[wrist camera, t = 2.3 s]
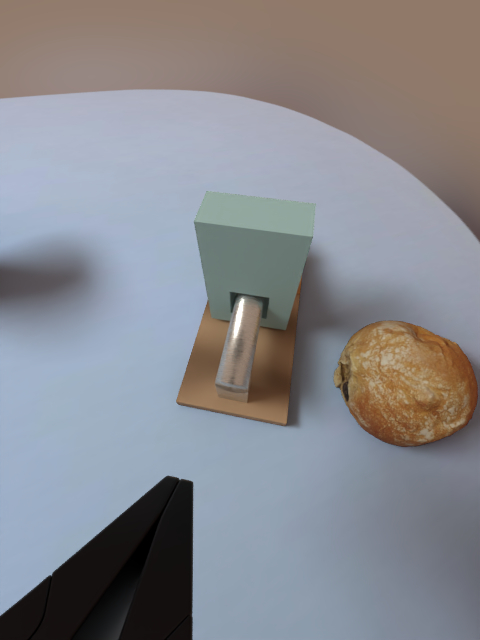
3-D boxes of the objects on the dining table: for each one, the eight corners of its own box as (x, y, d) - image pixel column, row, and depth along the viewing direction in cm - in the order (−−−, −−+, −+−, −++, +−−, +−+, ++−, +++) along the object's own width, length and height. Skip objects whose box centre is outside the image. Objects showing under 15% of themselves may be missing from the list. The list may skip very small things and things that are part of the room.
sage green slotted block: (285, 330, 25) (312, 236, 15) (211, 317, 25) (193, 221, 16) (289, 303, 26) (315, 203, 17) (218, 292, 27) (206, 191, 18)
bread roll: (327, 355, 29) (311, 327, 23) (431, 321, 26) (447, 278, 20) (364, 456, 24) (358, 457, 18) (498, 429, 21) (550, 418, 15)
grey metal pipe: (248, 403, 22) (249, 385, 18) (217, 397, 22) (211, 377, 18) (276, 246, 31) (281, 210, 27) (254, 243, 31) (255, 207, 27)
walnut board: (284, 426, 22) (286, 423, 21) (178, 404, 23) (175, 401, 22) (302, 256, 31) (304, 249, 30) (227, 246, 32) (226, 239, 31)
